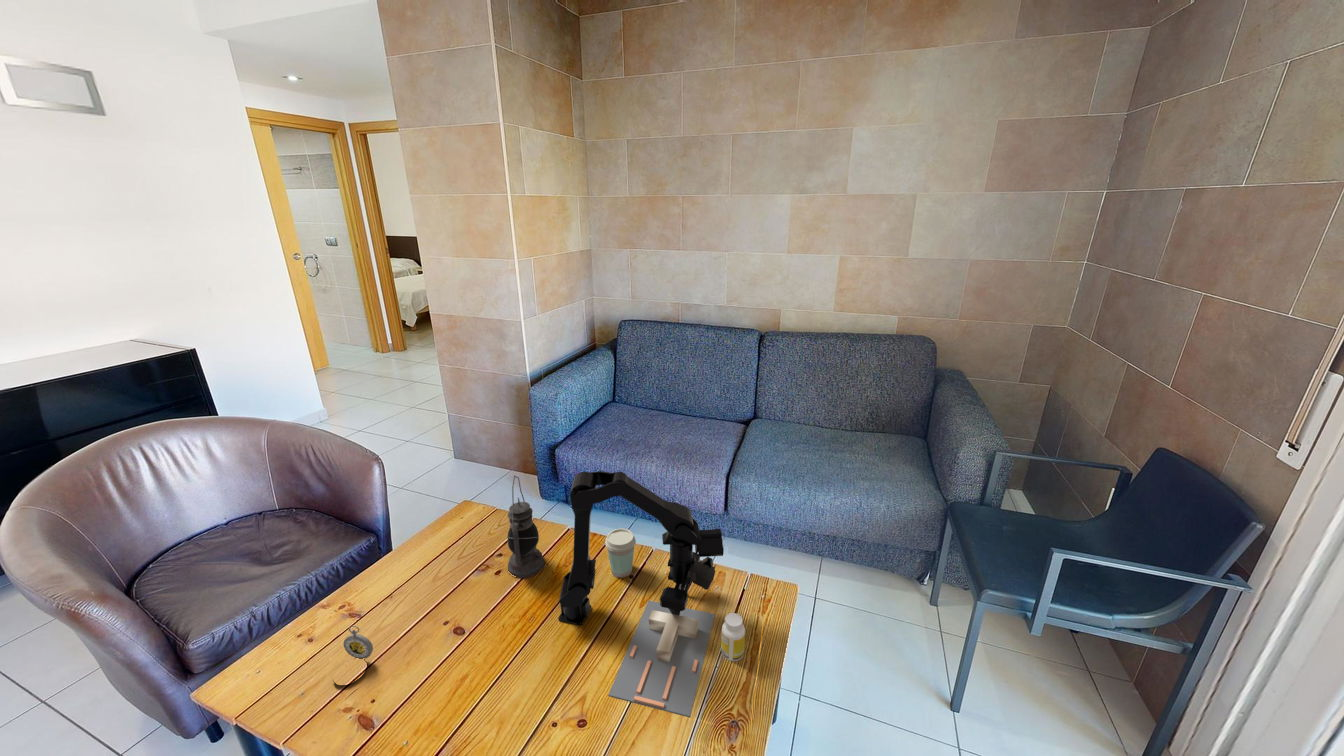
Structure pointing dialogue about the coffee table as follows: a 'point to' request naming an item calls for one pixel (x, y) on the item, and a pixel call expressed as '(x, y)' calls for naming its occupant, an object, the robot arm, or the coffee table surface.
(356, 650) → the pocket watch
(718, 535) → the robot arm
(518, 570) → the lantern
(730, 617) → the supplement bottle
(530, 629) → the coffee table surface
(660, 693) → the mat
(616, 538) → the coffee cup
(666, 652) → the t block
